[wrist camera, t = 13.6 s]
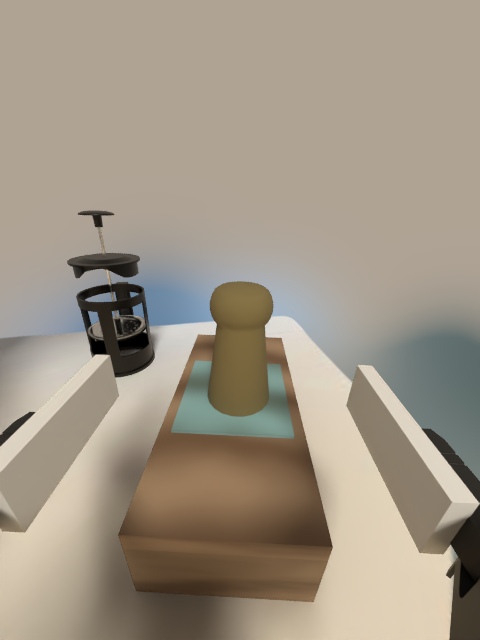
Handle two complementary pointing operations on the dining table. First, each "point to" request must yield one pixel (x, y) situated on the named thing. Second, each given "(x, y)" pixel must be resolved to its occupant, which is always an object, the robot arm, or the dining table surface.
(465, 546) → the robot arm
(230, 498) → the wooden block
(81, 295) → the french press
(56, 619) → the dining table surface
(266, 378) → the cork
